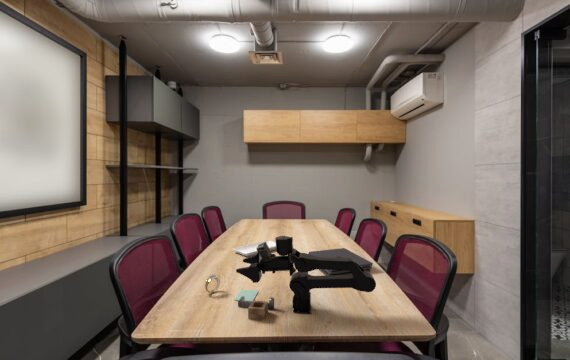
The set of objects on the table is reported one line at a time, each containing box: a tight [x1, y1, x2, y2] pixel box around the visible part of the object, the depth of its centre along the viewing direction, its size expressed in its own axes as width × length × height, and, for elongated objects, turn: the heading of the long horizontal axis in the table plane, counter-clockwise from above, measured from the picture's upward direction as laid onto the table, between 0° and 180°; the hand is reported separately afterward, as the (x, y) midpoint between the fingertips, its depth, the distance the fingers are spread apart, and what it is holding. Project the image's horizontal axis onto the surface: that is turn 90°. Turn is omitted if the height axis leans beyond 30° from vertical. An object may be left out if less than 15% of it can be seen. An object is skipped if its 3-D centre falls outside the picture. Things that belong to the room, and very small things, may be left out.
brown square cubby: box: [247, 299, 269, 321], centre depth 101 cm, size 6×6×4 cm
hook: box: [237, 296, 275, 311], centre depth 108 cm, size 15×5×4 cm, turn 81°
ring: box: [204, 273, 221, 294], centre depth 120 cm, size 7×3×8 cm, turn 132°
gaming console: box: [307, 247, 374, 276], centre depth 154 cm, size 30×27×5 cm
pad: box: [233, 289, 259, 302], centre depth 117 cm, size 8×10×1 cm
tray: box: [232, 240, 276, 257], centre depth 182 cm, size 17×31×4 cm, turn 133°
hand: (239, 265), depth 108 cm, fingers open, 9 cm apart
